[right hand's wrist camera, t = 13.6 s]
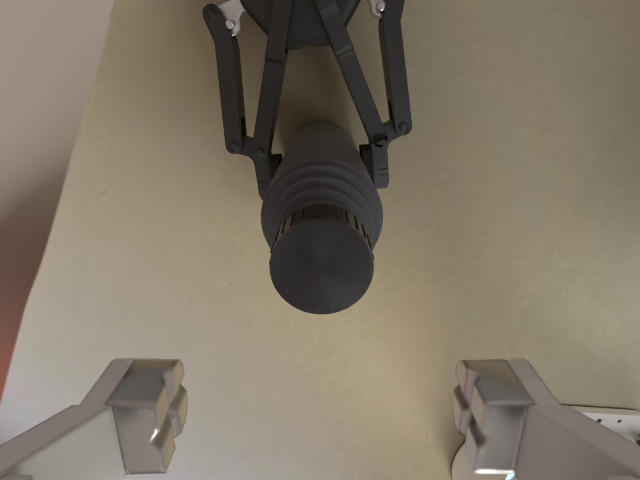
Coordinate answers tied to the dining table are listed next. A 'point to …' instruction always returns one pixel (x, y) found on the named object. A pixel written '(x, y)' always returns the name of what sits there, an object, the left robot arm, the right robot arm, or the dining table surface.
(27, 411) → the dining table surface
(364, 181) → the bottle
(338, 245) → the cap
